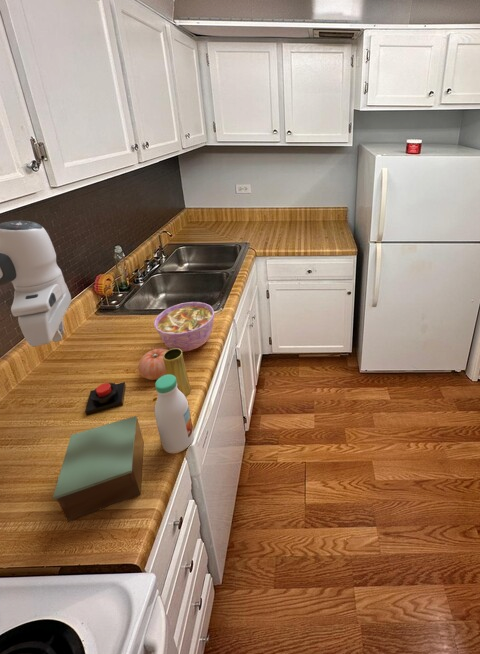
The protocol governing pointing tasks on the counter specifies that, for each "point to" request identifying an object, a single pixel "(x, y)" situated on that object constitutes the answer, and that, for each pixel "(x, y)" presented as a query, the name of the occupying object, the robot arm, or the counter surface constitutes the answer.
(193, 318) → the bowl of food
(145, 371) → the orange pumpkin
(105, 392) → the button
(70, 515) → the box
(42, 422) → the counter surface
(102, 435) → the lid
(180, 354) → the vase
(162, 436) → the milk bottle
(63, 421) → the counter surface
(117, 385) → the black button base
